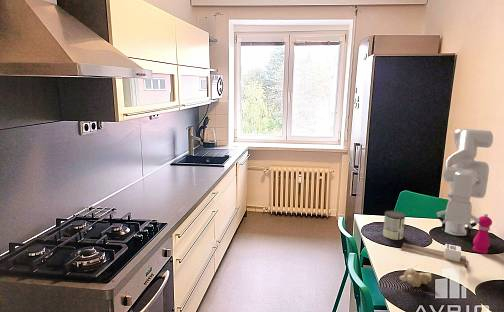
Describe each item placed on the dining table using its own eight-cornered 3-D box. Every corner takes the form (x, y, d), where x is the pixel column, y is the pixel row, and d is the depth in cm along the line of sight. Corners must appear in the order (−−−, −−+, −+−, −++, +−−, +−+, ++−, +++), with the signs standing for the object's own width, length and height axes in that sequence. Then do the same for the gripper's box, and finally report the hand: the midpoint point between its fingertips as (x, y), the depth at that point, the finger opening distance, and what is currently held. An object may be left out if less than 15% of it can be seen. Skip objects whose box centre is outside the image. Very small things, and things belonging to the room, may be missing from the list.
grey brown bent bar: (402, 245, 180) (403, 242, 180) (465, 259, 167) (465, 256, 167) (400, 253, 171) (400, 250, 171) (466, 268, 158) (466, 265, 158)
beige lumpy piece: (434, 273, 141) (412, 269, 137) (433, 291, 140) (410, 287, 136) (418, 269, 149) (397, 265, 145) (416, 286, 147) (395, 282, 143)
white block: (459, 261, 161) (461, 251, 160) (444, 258, 164) (445, 248, 163) (459, 256, 166) (460, 246, 165) (444, 253, 169) (445, 243, 168)
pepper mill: (491, 255, 172) (497, 216, 169) (475, 253, 174) (481, 215, 170) (484, 248, 179) (490, 212, 176) (469, 247, 181) (475, 210, 177)
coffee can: (382, 233, 195) (384, 209, 193) (401, 236, 192) (404, 212, 190) (382, 240, 186) (385, 215, 183) (403, 243, 183) (406, 218, 180)
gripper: (439, 197, 161) (434, 231, 164) (483, 204, 152) (477, 240, 156) (439, 193, 167) (435, 226, 171) (481, 199, 159) (476, 233, 162)
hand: (455, 232), depth 163 cm, fingers open, 9 cm apart
